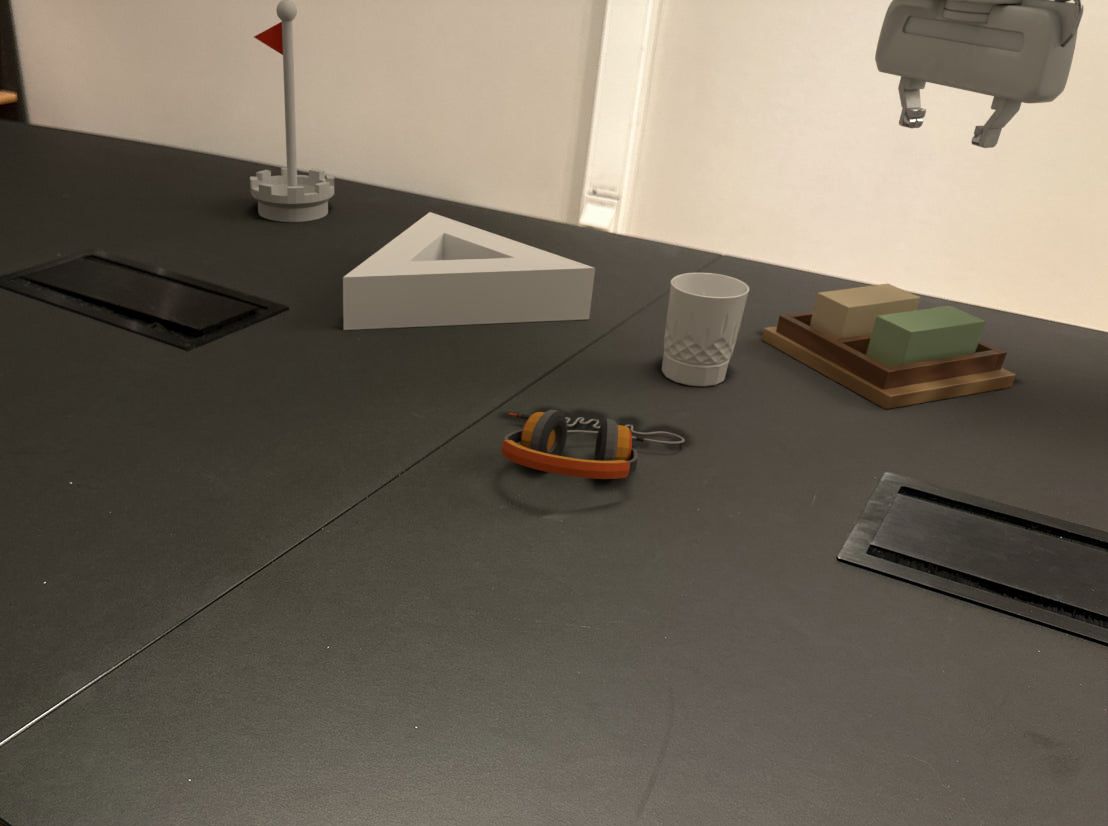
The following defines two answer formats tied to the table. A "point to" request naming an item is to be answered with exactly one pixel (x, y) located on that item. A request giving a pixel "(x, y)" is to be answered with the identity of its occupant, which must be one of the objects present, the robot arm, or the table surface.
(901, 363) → the sage block
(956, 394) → the wooden tray
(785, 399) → the table surface
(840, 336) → the beige block
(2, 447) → the table surface
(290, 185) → the flag stand
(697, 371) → the white cup
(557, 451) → the headphones
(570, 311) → the triangle block
